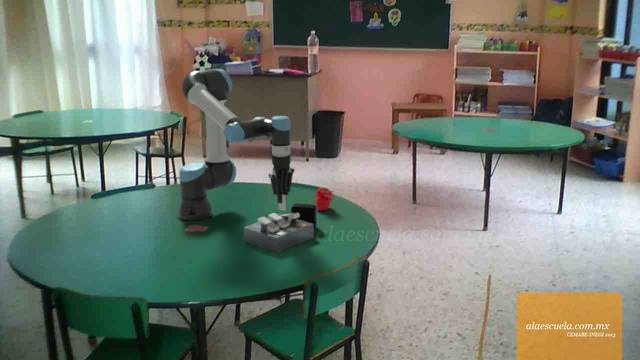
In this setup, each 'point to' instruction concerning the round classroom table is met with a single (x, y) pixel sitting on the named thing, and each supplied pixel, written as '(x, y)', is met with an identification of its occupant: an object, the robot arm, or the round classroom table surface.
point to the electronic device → (305, 212)
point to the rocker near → (268, 224)
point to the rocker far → (292, 215)
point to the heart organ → (323, 199)
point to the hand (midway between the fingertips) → (282, 209)
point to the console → (279, 234)
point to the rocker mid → (279, 220)
